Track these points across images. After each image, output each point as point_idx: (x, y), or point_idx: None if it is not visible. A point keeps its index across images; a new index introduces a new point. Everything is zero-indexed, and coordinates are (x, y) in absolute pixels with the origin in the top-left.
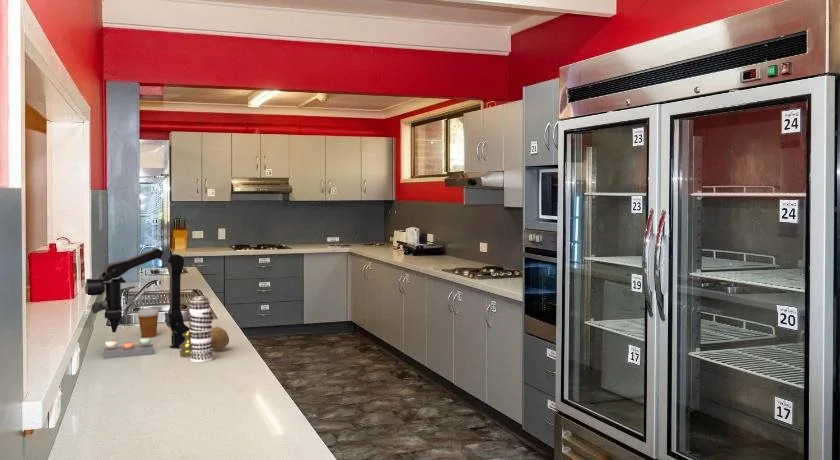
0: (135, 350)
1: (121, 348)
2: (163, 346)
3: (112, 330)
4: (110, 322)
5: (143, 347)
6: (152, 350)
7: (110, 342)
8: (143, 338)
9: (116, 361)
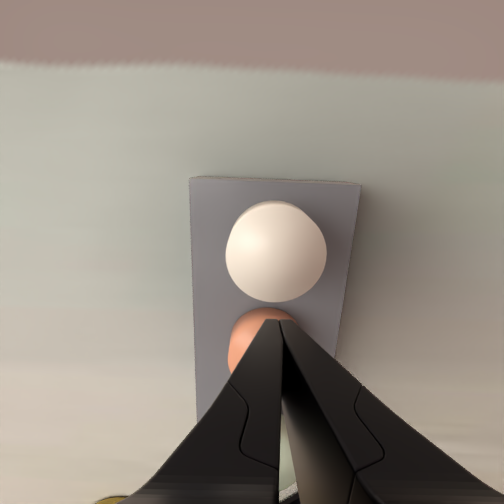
0: (195, 366)
1: None
2: None
3: (258, 333)
4: (190, 433)
5: None
6: None
7: (228, 251)
8: None
9: (95, 250)
